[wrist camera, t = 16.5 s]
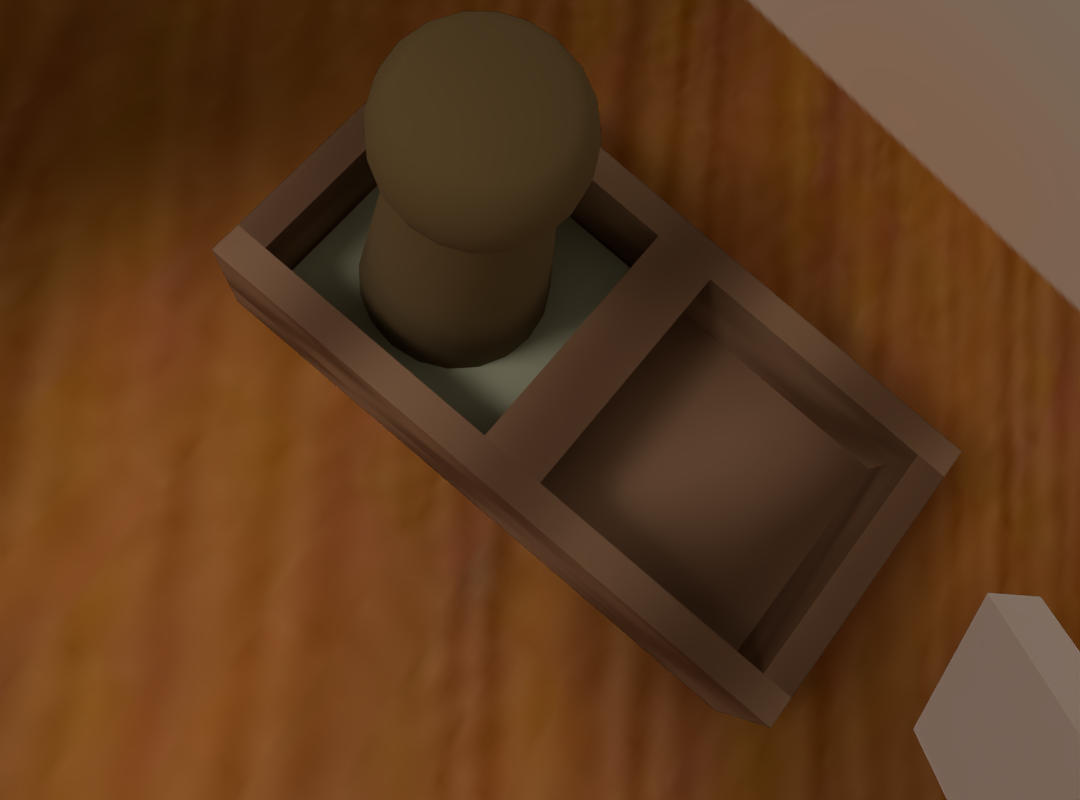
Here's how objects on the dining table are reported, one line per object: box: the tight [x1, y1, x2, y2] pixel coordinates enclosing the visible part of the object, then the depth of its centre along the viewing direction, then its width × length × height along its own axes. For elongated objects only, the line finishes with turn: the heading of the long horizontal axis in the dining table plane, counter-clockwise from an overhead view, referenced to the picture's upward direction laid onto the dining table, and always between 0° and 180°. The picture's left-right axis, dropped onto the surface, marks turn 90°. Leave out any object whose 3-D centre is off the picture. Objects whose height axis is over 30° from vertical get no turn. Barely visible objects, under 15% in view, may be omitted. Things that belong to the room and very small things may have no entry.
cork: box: [359, 11, 601, 369], centre depth 24 cm, size 6×6×11 cm
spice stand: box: [212, 102, 962, 728], centre depth 29 cm, size 20×10×4 cm, turn 50°
